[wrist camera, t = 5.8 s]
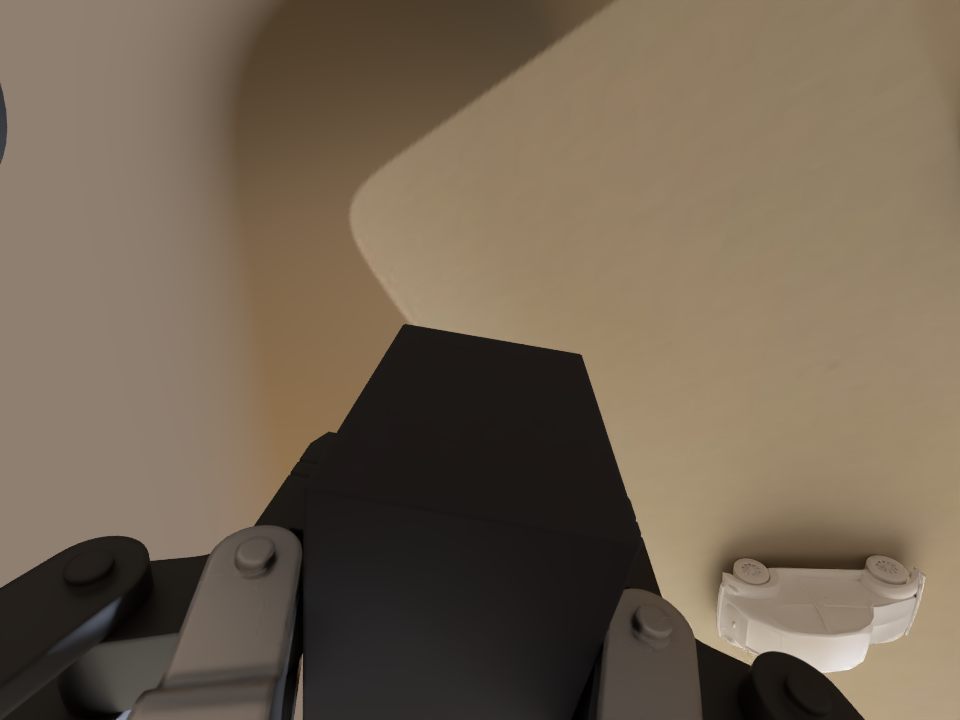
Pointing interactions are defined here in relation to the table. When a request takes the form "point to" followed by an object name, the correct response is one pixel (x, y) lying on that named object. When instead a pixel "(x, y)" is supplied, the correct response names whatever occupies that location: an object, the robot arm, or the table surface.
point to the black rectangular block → (463, 538)
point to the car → (818, 610)
